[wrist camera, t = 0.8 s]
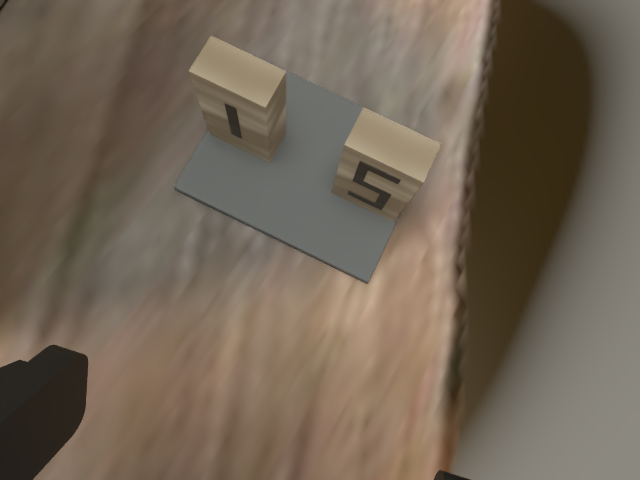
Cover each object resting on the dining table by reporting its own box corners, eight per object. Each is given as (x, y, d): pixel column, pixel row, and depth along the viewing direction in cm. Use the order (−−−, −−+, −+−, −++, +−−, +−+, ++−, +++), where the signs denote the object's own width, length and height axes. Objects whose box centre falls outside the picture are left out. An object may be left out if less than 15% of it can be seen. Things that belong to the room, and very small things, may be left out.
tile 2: (392, 222, 33) (423, 183, 25) (330, 193, 33) (343, 145, 26) (407, 190, 33) (441, 143, 26) (347, 161, 33) (364, 106, 26)
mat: (175, 190, 33) (173, 186, 32) (253, 59, 35) (252, 54, 35) (366, 283, 32) (368, 282, 32) (431, 144, 35) (434, 140, 34)
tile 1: (269, 163, 33) (264, 108, 26) (209, 134, 33) (187, 72, 26) (286, 133, 34) (286, 70, 26) (227, 104, 34) (211, 34, 27)
